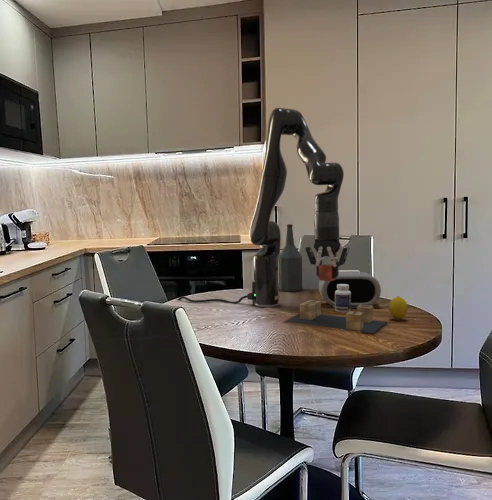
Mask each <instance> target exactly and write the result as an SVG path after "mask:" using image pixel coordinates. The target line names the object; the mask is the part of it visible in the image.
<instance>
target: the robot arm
mask: <svg viewBox="0 0 492 500" xmlns="http://www.w3.org/2000/svg"><path fill="white" fill-rule="evenodd" d="M282 136H292V137H294V138H295V140H297V142H296V153H297V156H298V157H299V159H300V160H301V162H302V163H303V164H304V166H305V169H306V174H307V177H308V180H309V182H310V183H311V184H313V185H314V186H326V188H325V190H324V191H322V192H319V193H317V194H315V196H314V218H313V221H314V222H313V226H314V227H313V228H314V229H313V230H314V234H313V235H314V242H313V245H310V246H306V247H305V253H306V255H307V257H308V260H309V263H310V265H314V266H315V267H316V268H315V269H316V270H315V271H316V273H315V274H316V277H318V279H319V265H321V264H323V261H324V259H325V257H328V258H329V260H330V262H331V264H332V265H333V267H332V278H333V279H335V278H337V277H338V275H339V267H340V266H343V265H345V263H346V261H347V258H348V256H349V251H350V247H349V246H344V245H342V244H341V242H340V215H339V196H340V192H341V188H342V184H343V181H344V177H345V173H344V172H345V171H344V168H343V166H342V165H341V164H340V163H338V162H326V161H327V155H326V153H325V151H324V150H323V149H322V148H321V146H320V145H319V144H318V143H317V141H316V140H315V139H314V137H313V135H312V133H311V130H310V129H309V125H308V124H307V122H306V120H305V118H304V115H303V114H302V113H301V111H299V110H298V109H294V108H293V109H292V108H284V107H275V108H274V109H273V110H272V112H271V113H270V115H269V119H268V124H267V135H266V145H265V153H264V160H263V165H262V170H261V173H260V180H259V186H258V187H259V188H258V193H257V197H256V198H257V199H256V202H255V207H254V208H255V209H254V211H253V215H252V219H251V222H250V225H249V231H248V237H249V240H250V242H251V244H252V245H254V246H260V248H259V250H258V251H257V252H256V253H255V254H254V255H253V281H252V282H251V292H249V293H247V295H243V296H241V297H240V298H239V299H238V300H236V301H230V300H228V299H227V300H226V299H222V298H208V299H191V298H188V297H187V296H180V297H178V298H177V301H181V300H182V299H183V300H185V301H187V302H190V303H206V302H207V303H209V302H222V303H225V304H226V303H227V304H232V305H233V304H235V305H237V304H240V303H241V302H242V300H244V299H247V300H249V301H250V300H251V301H252V302H251V303H252V304H251V305H252V306H255V307H257V308H258V307H259V308H274V307H278V306H280V302H279V301H280V300H279V299H280V294H279V271H278V257H279V255H280V253H281V237H282V236H281V228H280V226H279V224H278V223H277V222H276V221H273V220H271V215H272V212H273V209H274V207H275V206H276V205H277V203H278V201H279V200H280V198H281V196H282V194H283V193H284V190H285V186H286V184H287V183H286V182H287V177H288V168H287V165H286V162H285V160H284V157H283V154H282V149H281V140H282ZM339 250H340V251H339ZM315 251H316V253H317V254H316V255H317V256H315V253H314V252H315ZM338 252H340V253H341V254H340V257H338V254H337V253H338ZM338 259H339V260H338Z"/></svg>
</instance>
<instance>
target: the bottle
mask: <svg viewBox="0 0 492 500" xmlns="http://www.w3.org/2000/svg"><path fill="white" fill-rule="evenodd" d="M285 237H286V238H285V245H284V246H283V248H282V250H281V251H280V254H279V257H278V291H280V292H284V293H299V292H301V291H303V256H302V255H301V253H300V251H299V250H298V248H297V247H296V245H295V237H294V231H293V224H292V223H291V224H290V223H289V224H286V236H285Z"/></svg>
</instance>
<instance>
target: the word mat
mask: <svg viewBox="0 0 492 500" xmlns="http://www.w3.org/2000/svg"><path fill="white" fill-rule="evenodd" d="M284 322H285V323H291V324H299V325H305V326H314V327H321V328H328V329H337V330H343V331H353V332H357V331H356V330H349V329H346V316H341V315H340V316H339V315H331V314H322V313H321V315H320V316H318V317H316V318H315V319H313V320H305V319H300V313H299V314H297V315H294V316H292V317H291V318H289V319H287V320H284ZM387 323H388V322H387V321H382V320H374V319H373V321H372V322H371V323H364V322H363V329H361V330H360V331H358V333H361V334H368V335H375V333H377V332H378V331H379V330H381V328H383V327H384V326H385V325H387Z"/></svg>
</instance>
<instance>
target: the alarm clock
mask: <svg viewBox="0 0 492 500" xmlns="http://www.w3.org/2000/svg"><path fill="white" fill-rule="evenodd" d="M318 281H319V282H318V292H319V295H320V296H321V298H322V300H323V301H324V302H325V303H326V304H328V305H329V306H332V307H333V308H334V309H335V291H336V290H338V289H337V284H347V285H349V289H348V290H349V291H350V292H351V309H357V307H358V306H359V305H369V306H374V305H375V304H376V303H378V301H379V300H380V297H381V293H382V289H381V284H380V282H379V281H378V279H377V278H375V276H373V275H372V274H370V273H368V272H364V271H360V270H359V269H340V270H339V275H338V277H337V278H336V279H335V280H333V281H320V280H318Z"/></svg>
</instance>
